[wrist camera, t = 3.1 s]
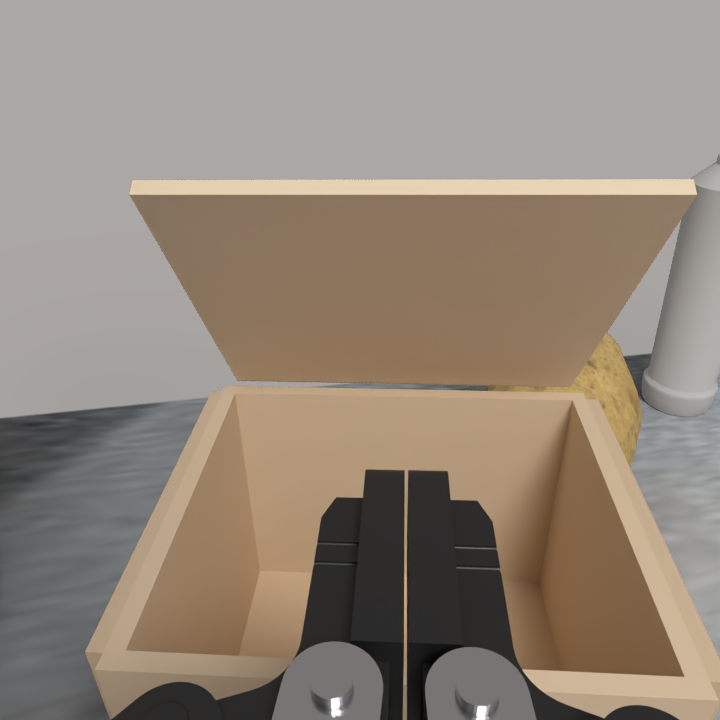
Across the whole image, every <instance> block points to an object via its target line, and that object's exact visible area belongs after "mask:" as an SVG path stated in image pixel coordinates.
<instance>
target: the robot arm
mask: <svg viewBox="0 0 720 720" xmlns="http://www.w3.org/2000/svg"><path fill="white" fill-rule="evenodd" d="M404 523H405V470H374V469H366V471H365V479H364V491H363V498H350V497H336V498H335V499H334V501H333V502H332V503H331V505H330V506H329V507H328V509H327V510H326V512H325V513H324V514H323V516H322V517H321V522H320V528H319V534H318V540H317V546H316V552H315V558H314V566H313V570H312V576H311V583H310V589H309V595H308V601H307V607H306V613H305V619H304V625H303V631H302V637H301V642H300V646H299V649H298V651H297V653H296V656H295V657H294V659H293V660H292V662H291V663H290V665H289V666H288V667H287V668H286V669H285V671H283V672H282V673H281V674H280V675H279V676H278V677H276V678H275V679H274V680H272V681H271V682H269V683H267V684H265V685H263V686H261V687H259V688H256V689H253V690H250V691H247V692H243V693H240V694H236V695H233V696H229V697H225V698H222V699H218V700H216V699H215V698H214V697H213V696H212V694H211V693H210V692H209V691H207V690H206V689H205V688H203V687H201V686H199V685H197V684H193V683H190V682H172V683H167V684H163V685H160V686H158V687H155V688H153V689H151V690H149V691H147V692H145V693H144V694H143V695H141V696H140V697H138V698H137V699H136V700H135V701H133V702H132V703H131V704H130V705H128V706H127V707H126V708H125V709H124V710H122V711H121V712H120V713H119V714H117V715H116V716H115V717H114V718H112V719H111V720H403V674H404ZM407 720H679V719H678V718H676V717H674V716H673V715H671V714H669V713H667V712H664V711H662V710H660V709H656V708H653V707H650V706H643V705H629V706H624V707H620V708H618V709H615V710H614V711H612V712H611V713H609V714H608V715H607V716H606V717H605V718H602V717H599V716H596V715H593V714H591V713H588V712H585V711H582V710H580V709H577V708H574V707H571V706H569V705H566V704H564V703H561V702H559V701H557V700H555V699H553V698H552V697H550V696H548V695H547V694H545V693H544V692H543V691H541V690H540V689H539V688H538V687H537V686H535V685H534V684H533V683H532V682H531V681H530V679H529V678H528V677H527V676H526V674H525V673H524V672H523V670H522V668H521V667H520V665H519V663H518V661H517V658H516V656H515V652H514V648H513V642H512V635H511V629H510V623H509V617H508V611H507V605H506V599H505V593H504V587H503V581H502V575H501V572H500V563H499V557H498V551H497V545H496V539H495V533H494V527H493V522H492V520H491V519H490V517H489V516H488V515H487V513H486V512H485V510H484V509H483V508H482V506H481V505H480V503H479V502H478V501H474V500H451V499H450V488H449V476H448V471H426V470H408V505H407Z"/></svg>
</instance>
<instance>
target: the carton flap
mask: <svg viewBox="0 0 720 720" xmlns="http://www.w3.org/2000/svg"><path fill="white" fill-rule="evenodd" d="M696 196H697V192H696V187H695V183H694V179H690V180H689V179H685V180H684V179H675V180H674V179H671V180H669V179H662V180H661V179H657V180H654V179H653V180H652V179H640V180H639V179H637V180H635V179H634V180H632V179H631V180H133V182H132V186H131V190H130V197H131V198H132V200H133V202H134V203H135V205H136V207H137V208H138V210H139V212H140V214H141V215H142V217H143V219H144V221H145V222H146V224H147V225H148V227H149V229H150V231H151V233H152V234H153V236H154V238H155V240H156V241H157V243H158V245H159V246H160V248H161V250H162V252H163V253H164V255H165V257H166V259H167V260H168V262H169V264H170V265H171V267H172V269H173V271H174V272H175V274H176V276H177V277H178V279H179V281H180V283H181V284H182V286H183V288H184V289H185V291H186V293H187V295H188V296H189V298H190V300H191V301H192V303H193V305H194V307H195V308H196V310H197V312H198V314H199V315H200V317H201V319H202V321H203V322H204V324H205V326H206V327H207V329H208V331H209V332H210V334H211V336H212V338H213V339H214V341H215V343H216V345H217V346H218V348H219V350H220V351H221V353H222V355H223V357H224V358H225V360H226V362H227V364H228V365H229V367H230V369H231V371H232V372H233V374H234V376H235V377H236V379H237V380H238V381H278V382H329V383H330V382H331V383H381V384H434V385H486V386H538V387H571V386H572V384H573V383H574V381H575V380H576V378H577V377H578V375H579V374H580V372H581V371H582V369H583V368H584V366H585V364H586V363H587V361H588V360H589V358H590V357H591V355H592V354H593V352H594V351H595V349H596V348H597V346H598V345H599V343H600V342H601V340H602V339H603V337H604V336H605V334H606V333H607V331H608V329H609V328H610V326H611V325H612V323H613V322H614V320H615V318H616V317H617V316H618V314H619V313H620V311H621V309H622V308H623V307H624V305H625V304H626V302H627V301H628V299H629V298H630V296H631V295H632V293H633V291H634V290H635V288H636V287H637V285H638V284H639V282H640V281H641V279H642V278H643V276H644V274H645V273H646V272H647V270H648V269H649V267H650V265H651V264H652V263H653V261H654V260H655V258H656V256H657V255H658V253H659V252H660V250H661V249H662V247H663V246H664V244H665V243H666V241H667V240H668V238H669V237H670V235H671V234H672V232H673V231H674V229H675V228H676V226H677V225H678V223H679V221H680V220H681V219H682V217H683V215H684V214H685V212H686V211H687V209H688V208H689V206H690V205H691V203H692V202H693V200H694V199H695V197H696Z"/></svg>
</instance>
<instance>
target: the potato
mask: <svg viewBox="0 0 720 720" xmlns="http://www.w3.org/2000/svg"><path fill="white" fill-rule="evenodd" d="M487 391H510V392H561V393H584V396H585V398H586V399H598V401H599V403H600V405H601V407H602V409H603V411H604V413H605V416H606V418H607V420H608V422H609V424H610V426H611V428H612V431H613V433H614V435H615V437H616V439H617V441H618V443H619V446H620V448H621V450H622V452H623V454H624V456H625V458H626V460H627V463H628V465H629V467H631V464H632V460H633V457H634V453H635V449H636V445H637V440H638V436H639V431H640V427H641V420H642V409H641V405H640V401H639V397H638V393H637V390H636V387H635V384H634V382H633V379H632V376H631V374H630V372H629V369H628V367H627V365H626V362H625V360H624V357H623V354H622V352H621V349H620V347H619V345H618V344H617V343H616V342H615V340H614V339H613V338H612V337H611V336H610V335H609V334H608V333H606V334H605V336H604V337H603V339H602V340H601V342H600V343H599V345H598V346H597V348H596V349H595V351H594V352H593V354H592V355H591V357H590V358H589V360H588V361H587V363H586V364H585V366H584V368H583V369H582V371H581V372H580V374H579V375H578V377H577V378H576V380H575V381H574V383H573V384H572V386H571V387H538V386H489V387H488V390H487Z"/></svg>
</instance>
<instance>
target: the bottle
mask: <svg viewBox="0 0 720 720" xmlns="http://www.w3.org/2000/svg"><path fill="white" fill-rule="evenodd" d="M691 179H694V183H695V187H696V192H697V196H696V197H695V199H694V200H693V202H692V203H691V205H690V206H689V208H688V209H687V211H686V212H685V214H684V215H683V217H682V220H681V225H680V229H679V234H678V238H677V243H676V247H675V252H674V256H673V261H672V265H671V270H670V275H669V279H668V283H667V288H666V292H665V297H664V301H663V306H662V310H661V315H660V320H659V324H658V328H657V333H656V337H655V342H654V347H653V351H652V356H651V360H650V365H649V366H648V367H647V368H646V369H645V370H644V373H643V378H642V397H643V398H644V400H645V401H646V402H647V403H648V404H649V405H650V406H652V407H653V408H655V409H656V410H659V411H662V412H664V413H667V414H670V415H675V416H681V417H695V416H698V415H701V414H704V413H705V412H706V411H707V410H708V408H709V407H710V406H711V405H712V403H713V401H714V399H715V397H716V394H717V392H718V385H717V382H716V381H717V378H718V375H719V372H720V154H719V155H718V158H717V161H716V162H715V163H713V164H712V165H710V166H709V167H707V168H706V169H704V170H703V171H701V172H699V173H698V174H697V175H695V176H693V177H692V178H691Z"/></svg>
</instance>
